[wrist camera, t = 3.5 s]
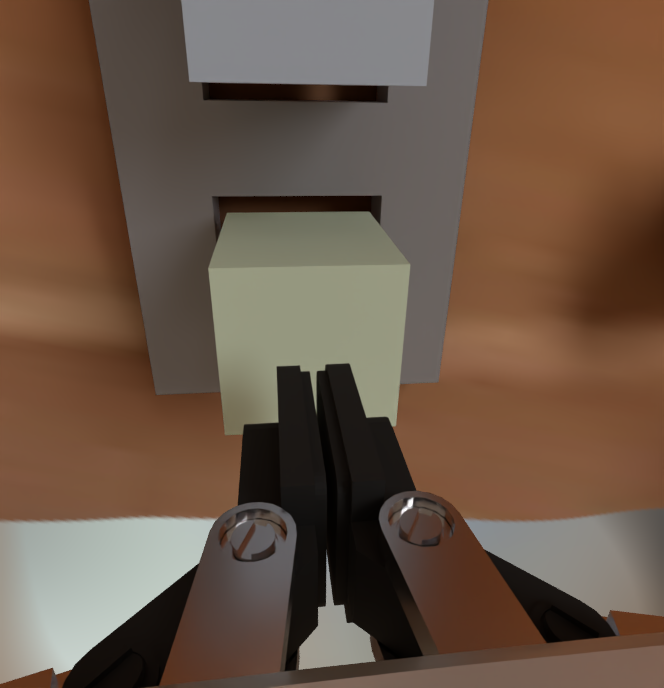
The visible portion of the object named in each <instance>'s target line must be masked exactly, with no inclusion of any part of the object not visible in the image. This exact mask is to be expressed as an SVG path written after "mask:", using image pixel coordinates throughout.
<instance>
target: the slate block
mask: <svg viewBox="0 0 664 688" xmlns="http://www.w3.org/2000/svg"><path fill="white" fill-rule="evenodd" d="M181 3H182V13H183V23H184V33H185V43H186V53H187V62H188V72H189V82H206V83H250V84H306V85H362V86H427V75H428V64H429V53H430V42H431V31H432V20H433V9H434V0H181Z"/></svg>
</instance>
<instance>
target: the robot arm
mask: <svg viewBox="0 0 664 688" xmlns="http://www.w3.org/2000/svg"><path fill="white" fill-rule="evenodd" d="M276 367H277V396H278V422H277V423H259V424H244V428H243V440H242V454H241V468H240V482H239V496H238V506H236V507H234V508H232V509H230V510H228V511H227V512H225V513H223V514H222V515H221V516H220V517H219V518H218V519H217V520H216V521H215V523H214V524H213V527H212V528H211V530H210V532H209V535H208V538H207V541H206V544H205V547H204V551H203V553H202V557H201V559H200V563H199V564H197V565H196V566H195V567H194V568H192V569H191V570H190V571H189V572H187V573H186V574H185V575H184V576H182V577H181V578H180V579H179V580H177V581H176V582H175V583H174V584H172V585H171V586H170V587H169V588H167V589H166V590H165V591H163V592H162V593H161V594H160V595H159V596H157V597H156V598H155V599H154V600H152V601H151V602H150V603H148V604H147V605H146V606H145V607H143V608H142V609H141V610H140V611H139V612H137V613H136V614H135V615H134V616H132V617H131V618H130V619H128V620H127V621H126V622H125V623H124V624H122V625H121V626H120V627H118V628H117V629H116V630H115V631H113V632H112V633H111V634H110V635H109V636H107V637H106V638H105V639H103V640H102V641H101V642H100V643H98V644H97V645H96V646H95V647H93V648H92V649H91V650H90V651H89V652H88V653H87V654H86V655H85V656H83V657H82V658H81V660H79V661H78V662H77V663H76V664H75V666H74V667H73V669H72V670H69V671H66V672H63V673H60V674H57V675H55V673H54V670H53V668H51V669H47V670H44V671H41V672H38V673H35V674H31V675H28V676H25V677H22V678H19V679H15V680H12V681H9V682H6V683H3V684H0V688H664V617H662V616H654V615H645V614H636V613H629V612H620V611H611V610H610V612H609V615H608V617H602V616H600V615H599V614H598V613H597V612H596V611H595V610H594V609H592V608H591V607H589V606H587V605H586V604H585V603H583V602H581V601H580V600H578V599H576V598H574V597H572V596H570V595H569V594H567V593H565V592H563V591H561V590H559V589H557V588H556V587H554V586H552V585H550V584H548V583H546V582H544V581H542V580H541V579H538V578H537V577H535V576H533V575H531V574H529V573H527V572H526V571H524V570H522V569H520V568H518V567H516V566H514V565H513V564H511V563H509V562H507V561H505V560H503V559H501V558H499V557H497V556H495V555H494V554H492V553H490V552H488V551H486V550H484V549H483V547H482V546H481V544H480V543H479V541H478V540H477V538H476V537H475V535H474V534H473V532H472V531H471V529H470V528H469V527H468V525H467V523H466V522H465V520H464V519H463V517H462V516H461V514H460V513H459V512H458V511H457V510H456V508H455V507H454V506H453V505H452V504H451V503H449V502H448V501H446V500H445V499H443V498H442V497H439V496H437V495H434V494H431V493H428V492H421V491H416V488H415V486H414V483H413V481H412V478H411V475H410V473H409V470H408V467H407V465H406V462H405V459H404V457H403V454H402V451H401V449H400V446H399V444H398V441H397V438H396V436H395V433H394V430H393V428H392V425H391V422H390V420H389V418H388V417H368V418H366V415H365V411H364V408H363V405H362V402H361V399H360V395H359V392H358V389H357V386H356V382H355V379H354V376H353V373H352V369H351V366H350V364H349V363H343V364H326V365H325V370H323V371H317V374H316V409H315V402H314V396H313V389H312V383H311V376H310V371H301V369H300V365H297V366H276ZM326 549H327V557H328V564H329V572H330V579H331V587H332V595H333V602H334V605H344V607H345V614H346V620H347V623H351V622H353V623H355V624H356V625H357V626H359V627H360V628H362V629H363V630H364V631H366V632H367V633H368V634H370V642H371V648H372V652H373V655H374V658H375V661H376V662H367V663H358V664H349V665H339V666H330V667H321V668H313V669H303V670H299V659H300V658H299V657H300V656H299V647H300V646H301V644H302V643H303V642H304V641H305V640H306V639H307V638H308V637H309V635H310V634H311V633H312V632H313V631H314V630H315V629H316V627H317V626H318V607H323V606H326Z"/></svg>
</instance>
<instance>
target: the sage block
mask: <svg viewBox="0 0 664 688" xmlns="http://www.w3.org/2000/svg"><path fill="white" fill-rule="evenodd" d="M208 271H209V281H210V291H211V301H212V311H213V321H214V331H215V341H216V351H217V360H218V370H219V380H220V390H221V400H222V410H223V420H224V430H225V435H240V434H243V428H244V424H259V423H277V422H278V396H277V367H276V366H297V365H300V369H301V371H310V376H311V383H312V389H313V396H314V402H315V409H316V374H317V371H323V370H325V365H326V364H343V363H349V364H350V366H351V369H352V373H353V376H354V379H355V382H356V386H357V389H358V392H359V395H360V399H361V402H362V405H363V408H364V411H365V415H366V418H368V417H388V418H389V420H390V422H391V425H392V426H396V419H397V408H398V397H399V386H400V375H401V364H402V353H403V342H404V330H405V319H406V308H407V297H408V286H409V275H410V263H409V262H408V261H407V259H406V258H405V257H404V255H403V254H402V253H401V252H400V250H399V249H398V248H397V247H396V245H395V244H394V243H393V241H392V240H391V239H390V238H389V236H388V235H387V234H386V232H385V231H384V230H383V229H382V227H381V226H380V225H379V224H378V222H377V221H376V220H375V218H374V217H373V216H372V215H371V213H370V212H251V213H227V214H226V217H225V220H224V223H223V226H222V229H221V232H220V235H219V238H218V241H217V244H216V247H215V250H214V253H213V256H212V259H211V262H210V265H209V268H208Z"/></svg>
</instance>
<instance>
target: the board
mask: <svg viewBox="0 0 664 688" xmlns="http://www.w3.org/2000/svg"><path fill="white" fill-rule="evenodd" d="M89 5H90V11H91V17H92V23H93V28H94V34H95V40H96V46H97V52H98V58H99V64H100V69H101V75H102V81H103V87H104V93H105V99H106V105H107V111H108V116H109V122H110V128H111V134H112V140H113V146H114V152H115V157H116V163H117V169H118V175H119V181H120V187H121V193H122V198H123V204H124V210H125V216H126V222H127V228H128V234H129V240H130V245H131V251H132V257H133V263H134V269H135V275H136V281H137V286H138V292H139V298H140V304H141V310H142V316H143V322H144V328H145V333H146V339H147V345H148V351H149V357H150V363H151V369H152V374H153V380H154V386H155V392H156V395H166V394H188V393H210V392H221V390H220V380H219V370H218V360H217V351H216V341H215V331H214V321H213V311H212V301H211V291H210V281H209V271H208V268H209V265H210V262H211V259H212V256H213V253H214V250H215V247H216V244H217V241H218V238H219V235H220V232H221V224H220V212H219V200H218V196H372V198H371V215H372V216H373V217H374V218H375V220H376V221H377V222H378V224H379V225H380V226H381V227H382V229H383V230H384V231H385V232H386V234H387V235H388V236H389V238H390V239H391V240H392V241H393V243H394V244H395V245H396V247H397V248H398V249H399V250H400V252H401V253H402V254H403V255H404V257H405V258H406V259H407V261H408V262H409V263H410V275H409V286H408V297H407V308H406V319H405V330H404V342H403V353H402V364H401V375H400V384H411V383H434V382H438V381H439V373H440V366H441V358H442V350H443V343H444V335H445V328H446V320H447V312H448V305H449V297H450V289H451V282H452V274H453V266H454V259H455V251H456V244H457V236H458V228H459V221H460V213H461V205H462V198H463V190H464V182H465V175H466V167H467V159H468V152H469V144H470V137H471V129H472V121H473V114H474V106H475V98H476V91H477V83H478V75H479V68H480V60H481V53H482V45H483V37H484V30H485V22H486V14H487V7H488V0H434V9H433V20H432V31H431V42H430V53H429V64H428V75H427V86H377V98H376V101H329V100H260V99H210V95H209V83H206V82H189V72H188V62H187V53H186V43H185V33H184V23H183V13H182V3H181V0H89Z"/></svg>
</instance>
